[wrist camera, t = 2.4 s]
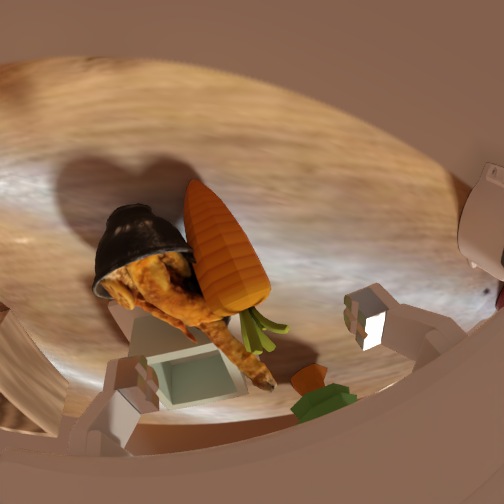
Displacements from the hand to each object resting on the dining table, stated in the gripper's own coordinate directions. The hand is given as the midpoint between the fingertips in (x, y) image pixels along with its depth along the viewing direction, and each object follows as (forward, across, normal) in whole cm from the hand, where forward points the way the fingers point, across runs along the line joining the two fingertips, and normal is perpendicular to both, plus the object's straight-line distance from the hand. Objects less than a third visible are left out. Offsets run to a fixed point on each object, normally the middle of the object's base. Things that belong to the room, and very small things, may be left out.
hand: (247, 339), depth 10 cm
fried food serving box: (+17, +37, +12) cm, 43 cm away
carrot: (+16, +1, -3) cm, 16 cm away
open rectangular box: (+17, +6, +14) cm, 23 cm away
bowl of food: (+16, +6, -2) cm, 17 cm away
